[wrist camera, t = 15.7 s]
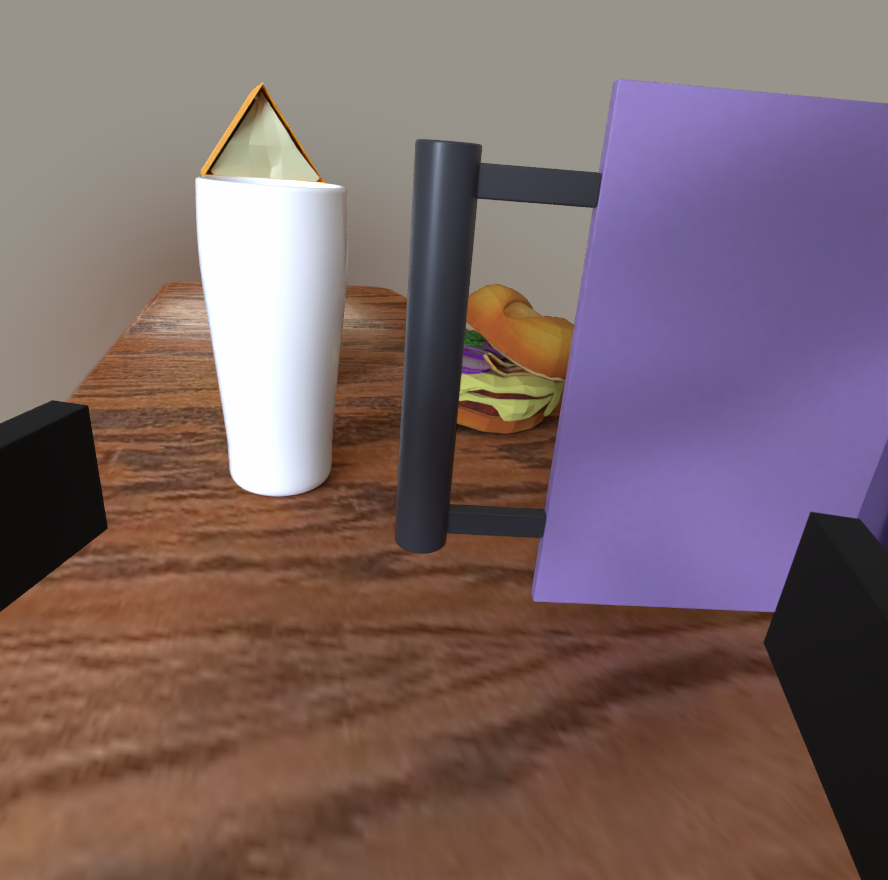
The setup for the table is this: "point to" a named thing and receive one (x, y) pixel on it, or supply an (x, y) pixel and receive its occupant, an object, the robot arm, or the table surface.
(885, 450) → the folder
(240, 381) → the drinking glass
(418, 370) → the folder cover
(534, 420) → the cheeseburger
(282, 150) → the orange juice
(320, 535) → the table surface
